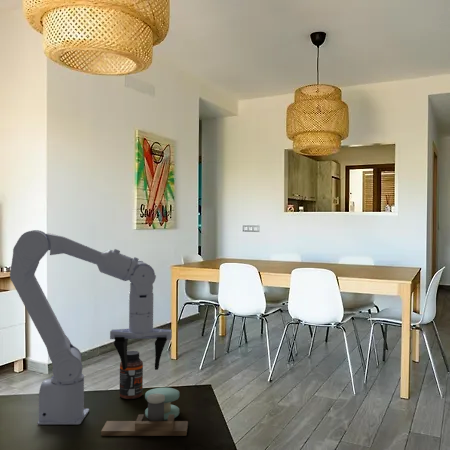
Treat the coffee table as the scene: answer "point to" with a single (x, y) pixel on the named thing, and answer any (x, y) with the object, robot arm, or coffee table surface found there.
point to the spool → (166, 401)
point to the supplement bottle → (131, 377)
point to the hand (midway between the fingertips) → (140, 368)
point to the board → (145, 427)
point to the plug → (156, 407)
